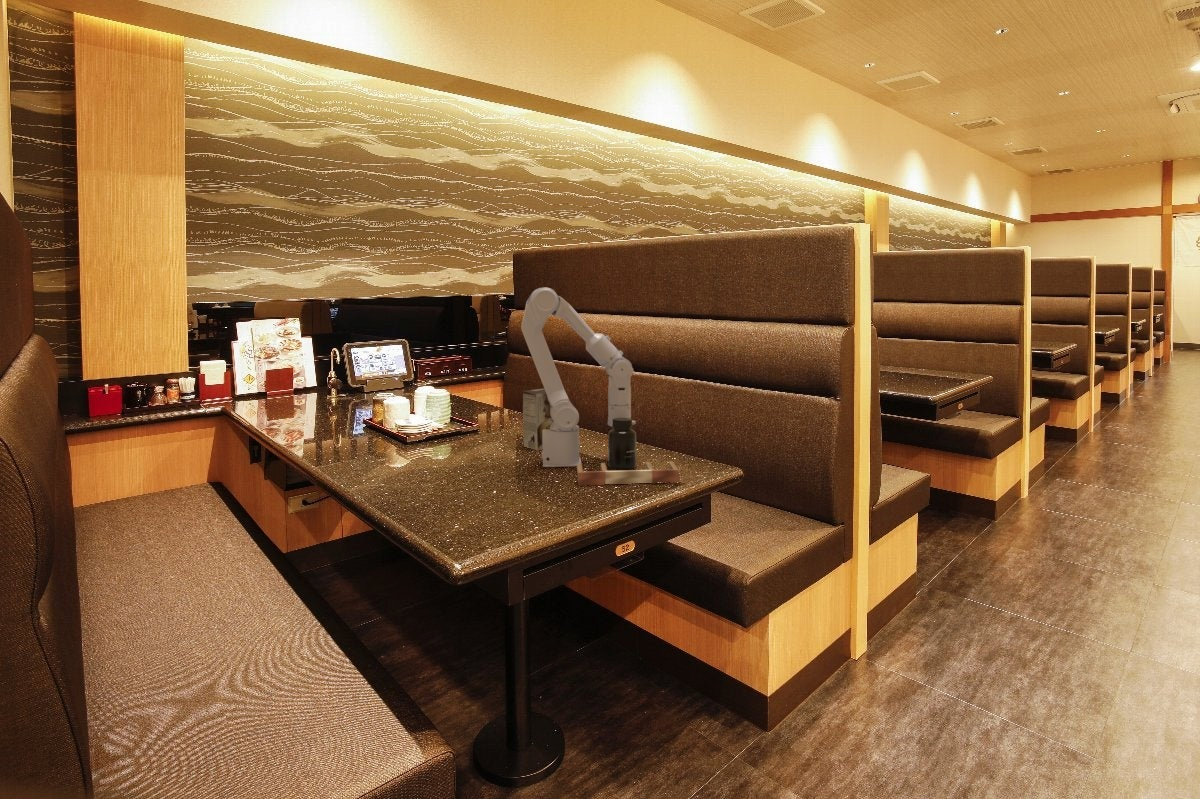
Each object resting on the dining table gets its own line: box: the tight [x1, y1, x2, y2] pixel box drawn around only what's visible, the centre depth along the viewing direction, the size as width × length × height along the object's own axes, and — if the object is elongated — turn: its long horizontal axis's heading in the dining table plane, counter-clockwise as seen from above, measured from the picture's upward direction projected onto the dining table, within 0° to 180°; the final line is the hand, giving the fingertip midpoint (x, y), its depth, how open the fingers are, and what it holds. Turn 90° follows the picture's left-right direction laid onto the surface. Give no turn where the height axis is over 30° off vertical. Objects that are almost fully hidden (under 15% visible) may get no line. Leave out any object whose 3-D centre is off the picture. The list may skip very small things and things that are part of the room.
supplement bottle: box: [607, 418, 637, 470], centre depth 169 cm, size 7×7×12 cm
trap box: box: [576, 460, 680, 487], centre depth 158 cm, size 22×8×3 cm, turn 93°
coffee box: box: [521, 387, 554, 451], centre depth 192 cm, size 9×6×16 cm
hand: (619, 456), depth 176 cm, fingers closed
